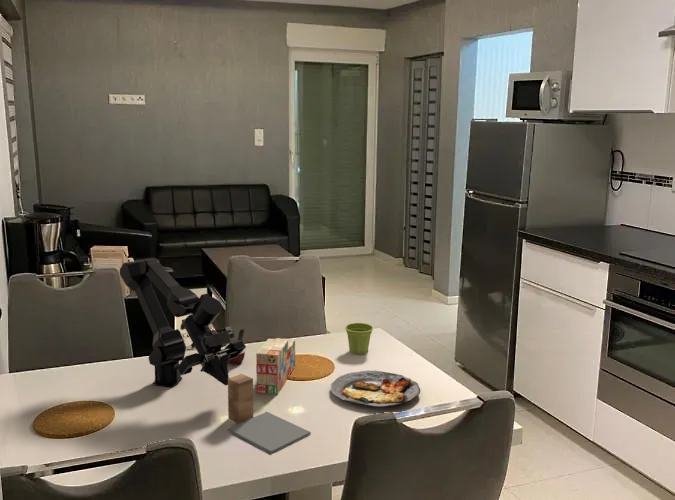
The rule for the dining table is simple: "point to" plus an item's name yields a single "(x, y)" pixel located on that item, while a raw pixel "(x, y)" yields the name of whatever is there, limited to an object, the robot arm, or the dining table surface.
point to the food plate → (375, 388)
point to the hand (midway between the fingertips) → (227, 384)
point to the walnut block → (240, 398)
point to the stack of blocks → (274, 365)
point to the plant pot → (358, 337)
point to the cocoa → (242, 354)
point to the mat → (269, 432)
